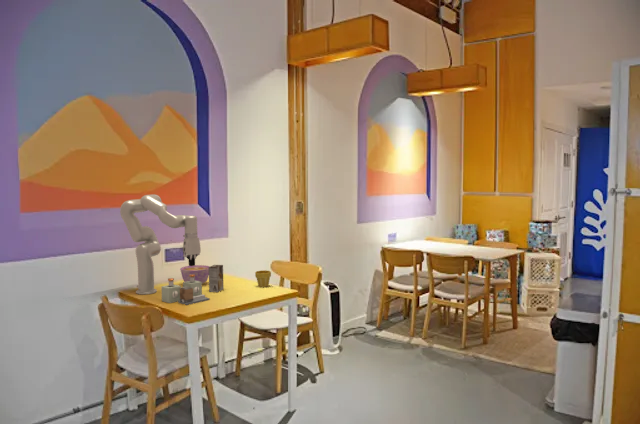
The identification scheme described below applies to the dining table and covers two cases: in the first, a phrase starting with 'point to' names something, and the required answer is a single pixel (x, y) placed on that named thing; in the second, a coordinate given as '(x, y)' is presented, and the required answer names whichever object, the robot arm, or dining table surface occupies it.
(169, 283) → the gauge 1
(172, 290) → the cabinet
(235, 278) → the dining table surface
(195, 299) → the rail board
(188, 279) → the bowl of food
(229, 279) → the dining table surface
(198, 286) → the cabinet
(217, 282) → the coffee box
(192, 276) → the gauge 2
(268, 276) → the plant pot
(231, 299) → the dining table surface
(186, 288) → the brown upright block
